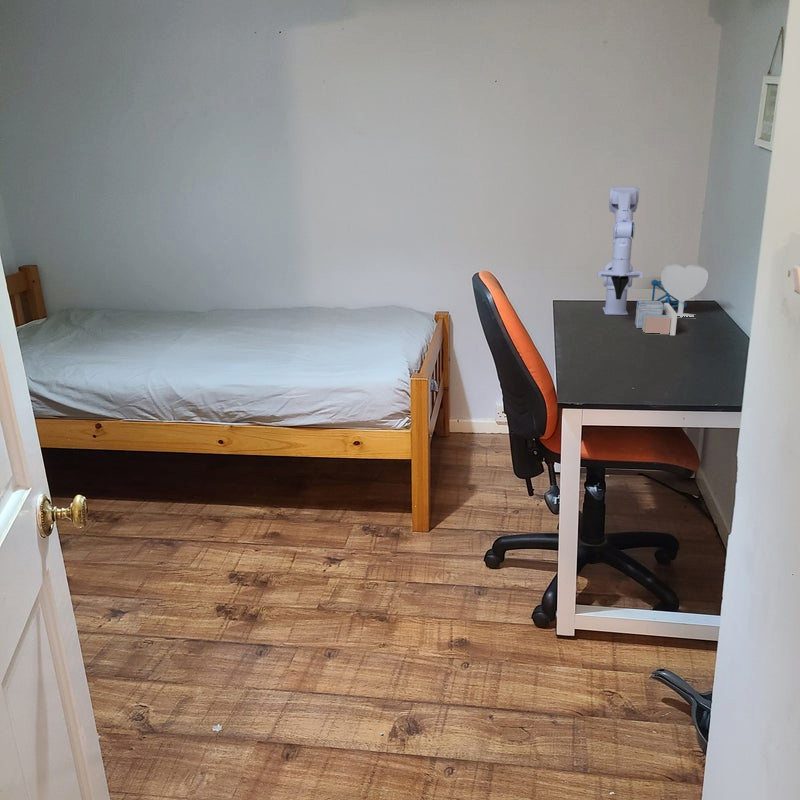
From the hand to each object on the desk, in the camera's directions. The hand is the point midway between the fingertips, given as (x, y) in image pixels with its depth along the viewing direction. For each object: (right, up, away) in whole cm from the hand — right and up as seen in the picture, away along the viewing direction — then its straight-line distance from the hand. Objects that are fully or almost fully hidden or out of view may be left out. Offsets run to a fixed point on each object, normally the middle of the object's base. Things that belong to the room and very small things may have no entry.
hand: (618, 298), depth 271 cm
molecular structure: (+26, 0, +28) cm, 38 cm away
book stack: (+12, -10, -1) cm, 16 cm away
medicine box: (+10, -10, +1) cm, 14 cm away
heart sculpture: (+26, -4, +15) cm, 30 cm away
